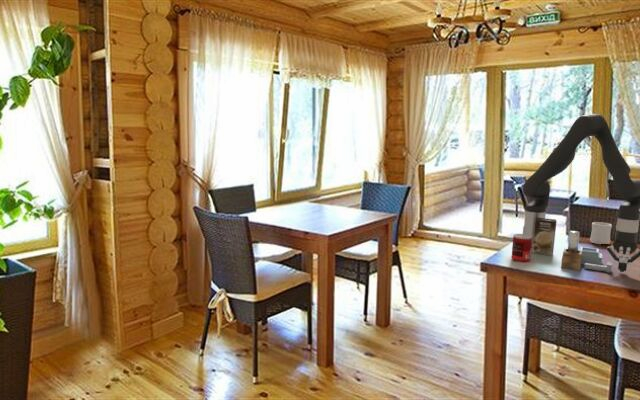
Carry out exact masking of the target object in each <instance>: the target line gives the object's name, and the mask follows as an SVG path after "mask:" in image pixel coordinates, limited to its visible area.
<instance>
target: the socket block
mask: <svg viewBox="0 0 640 400" xmlns="http://www.w3.org/2000/svg"><path fill="white" fill-rule="evenodd" d="M581 260H582V251H581V250H580V249H578V253H571V252H568V248H565V247H564V248H563V251H562V257H561V263H560V267H561V269H565V270H566V269H567V270H573V271H578V272H579V271H581V266H582V264H581Z"/></svg>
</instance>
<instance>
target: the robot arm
mask: <svg viewBox="0 0 640 400" xmlns="http://www.w3.org/2000/svg"><path fill="white" fill-rule="evenodd" d="M588 137H589V138H590V137H594V138H595V139H596V140H597V142H599V145H600V147H601V156H602V161H603V164H604V166H605V168H606V169H607V171H608V173H609V175H610V176H611V177H612V182H613V184H614V187H615V188H614V189H615V190H616V192H617V193H618V195H620V196H621V197H622V198H624V199H625V200H624V202H623V203H621V204H620V206H619V208H618V214H617V220H616V225H615V235H614V241H613V243H612V245H610V246H608V245H607V247H606V251H608V253H609V255H610V256H611V257H612V258H613V260H614V261H615V262H618V267H617V270H618V271H619V272H622V273H624V272H626V271H627V268H628V264H629V263H631V264H633V262H635V261H636V260H637V259H639V257H640V249H639V248H638V245H637V243H638V242H637V241H638V233H639V225H640V224H639V223H640V222H639V221H640V180H638V179H631V177H630V174H631V172H632V171H631V170H632V169H631V168H630V166H629V164H628V162H627V161H626V159H625V158H624V156H623V155H622V154H621V153H622V152H620V150H619V148H618V145H617V143H616V141H615V140H614V137H613V134H612V132H611V130H610V127H609V125H608V122H607V120H606V119H605V117H604V116H603V115H602V114H601V113H600V114H599V113H591V114H584V115H583V114H582V115H581V116H579V117H577V118H576V119H575V121H574V122H573V123H572V125H571V127H570V128H569V130H568V132H567V133H566V135H565V136H564V137H563V138H562V139H561V141H560V142H559V143H558V145H557V146H556V147H555V148H554V149H553V150H552V152H551V153H550V154H549V155H548V157H547V158H546V159H545V161H543V163H542V164H541V165H540V166H539V167H538V168H537V170H536V171H535V172H533V174H531V175H530V176H529V177H528V179H526V181H525V182H524V184H523V187H522V193H523V195H524V196H525V197H527V198H530V199H531V198H532V201H530V202H529V203H527V204H526V205H525V211H524V221H523V222H524V224H523V226H522V234H527V235H530V236H532V244H531V248H532V246H533V238H534V228H535V220H536V217H537V218H546V214H547V213H546V211H547V208H548V205H549V200H550V195H551V186H550V182H549V180H550V179H552V178H553V177H556V176H557V175H560V174H561V173H563V172H564V171H565V170H566V169H568V167H569V166H570V165H571V164H572V163H573V161H574V160H575V157H576V152H577V148H578V146H579V145H580V144H581V143H582V142H583V141H584V140H585V139H586V138H588ZM614 249H615V251H616V253H618V256H617V254H616V253H615V252H614ZM634 253H635V254H634ZM632 254H633V255H632ZM630 255H632V256H631V257H630ZM623 256H624V257H623ZM629 257H630V258H629Z"/></svg>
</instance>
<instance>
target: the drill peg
mask: <svg viewBox="0 0 640 400" xmlns="http://www.w3.org/2000/svg"><path fill="white" fill-rule="evenodd" d="M567 243H568V244H567V249H568V252H571V253H578V250H579V244H580V231H577V230H570V231H569V233H568V242H567Z"/></svg>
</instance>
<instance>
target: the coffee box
mask: <svg viewBox="0 0 640 400" xmlns="http://www.w3.org/2000/svg"><path fill="white" fill-rule="evenodd" d="M557 223H558V222H557V219H555V218H546V217H545V218H537V217H536V220H535V228H534V238H533V246H532V247H531V253H532V254H537V255H545V256H554V249H555V248H554V247H555V239H556V230H557V229H556V228H557Z"/></svg>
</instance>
